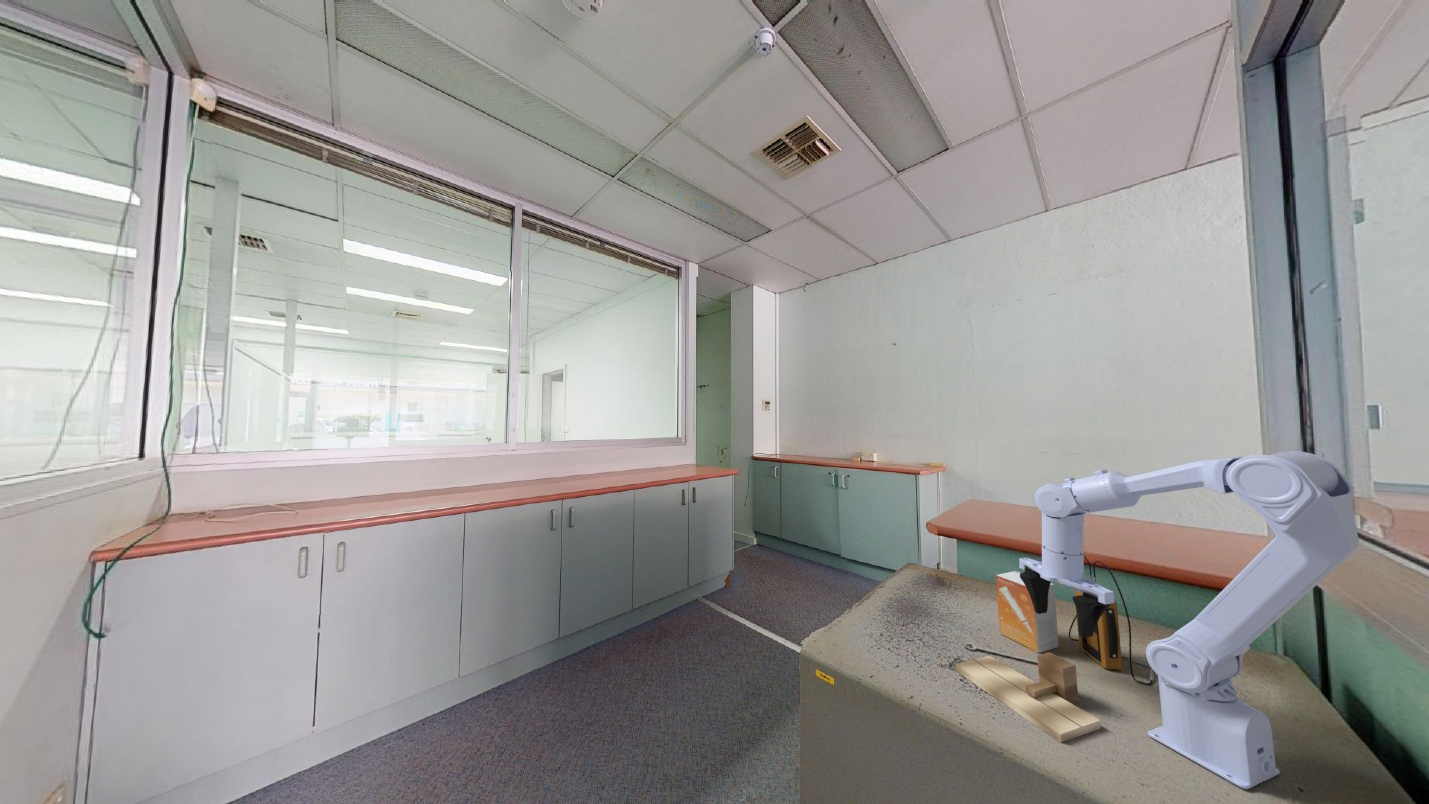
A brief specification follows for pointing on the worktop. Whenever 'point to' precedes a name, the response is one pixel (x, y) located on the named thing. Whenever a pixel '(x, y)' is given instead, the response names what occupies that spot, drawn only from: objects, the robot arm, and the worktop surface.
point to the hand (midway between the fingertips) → (1062, 623)
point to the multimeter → (1107, 636)
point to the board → (1028, 699)
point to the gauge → (1055, 678)
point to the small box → (1025, 614)
